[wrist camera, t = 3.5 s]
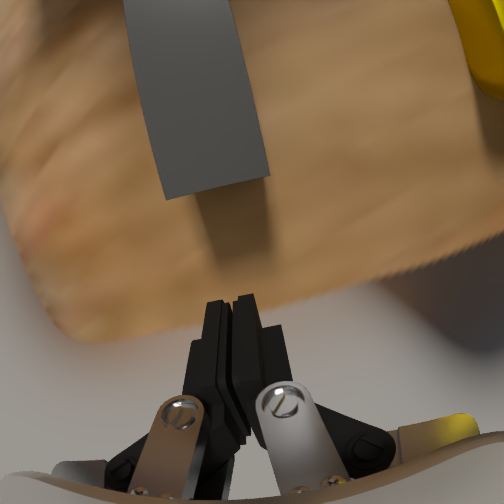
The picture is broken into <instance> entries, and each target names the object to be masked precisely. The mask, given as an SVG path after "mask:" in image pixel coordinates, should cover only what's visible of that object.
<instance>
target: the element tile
mask: <svg viewBox="0 0 504 504" xmlns="http://www.w3.org/2000/svg"><path fill="white" fill-rule="evenodd" d="M448 2H449V5H450V7H451V10H452V13H453V16H454V19H455V22H456V25H457V28H458V31H459V34H460V38H461V41H462V45H463V49H464V53H465V57H466V61H467V64H468V67H469V69H470V71H471V74H472V76H473V78H474V80H475V82H476V83H477V84H478V86H479V87H480V89H481V90H482V91H484V92H485V93H486V94H487V95H488V96H490V97H492V98H495V99H499V100H503V101H504V0H448Z"/></svg>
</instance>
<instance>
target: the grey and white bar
mask: <svg viewBox="0 0 504 504" xmlns="http://www.w3.org/2000/svg"><path fill="white" fill-rule="evenodd" d="M123 4H124V12H125V19H126V26H127V33H128V39H129V45H130V51H131V56H132V62H133V67H134V72H135V77H136V82H137V87H138V92H139V97H140V101H141V106H142V110H143V115H144V119H145V123H146V127H147V131H148V135H149V139H150V143H151V147H152V151H153V155H154V159H155V163H156V166H157V170H158V174H159V177H160V181H161V184H162V188H163V191H164V195H165V198H166V200H170V199H173V198H177V197H181V196H185V195H189V194H192V193H196V192H200V191H204V190H208V189H213V188H217V187H221V186H225V185H230V184H234V183H238V182H243V181H248V180H252V179H257V178H262V177H267V176H270V172H269V167H268V162H267V158H266V153H265V148H264V144H263V139H262V135H261V130H260V125H259V121H258V117H257V112H256V108H255V103H254V99H253V95H252V91H251V86H250V82H249V78H248V74H247V70H246V66H245V62H244V58H243V54H242V50H241V46H240V42H239V38H238V34H237V30H236V27H235V23H234V19H233V15H232V12H231V8H230V4H229V1H228V0H123Z"/></svg>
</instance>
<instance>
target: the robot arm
mask: <svg viewBox="0 0 504 504" xmlns="http://www.w3.org/2000/svg"><path fill="white" fill-rule="evenodd" d="M251 427H252V430H253V432H254V434H255V436H256V438H257V440H258V442H259V444H260V446H261V447H263V448H264V449H266V450H267V451H268V454H269V457H270V461H271V464H272V467H273V471H274V474H275V477H276V481H277V484H278V487H279V490H280V494H281V496H274V497H265V498H256V499H244V500H243V499H242V500H228V496H229V491H230V485H231V479H232V473H233V467H234V461H235V459H234V458H235V456H234V454H235V453H236V452H237V451H238V450H239V449H240V445H245V444H246V436H251ZM0 504H504V431H496V432H490V433H484V434H480V431H479V428H478V424H477V423H476V421H475V419H474V418H473V417H471V416H470V415H468V414H464V413H459V414H453V415H450V416H446V417H443V418H438V419H434V420H431V421H426V422H421V423H417V424H412V425H407V426H401V427H399V428H398V430H393V431H387V432H386V431H384V430H382V429H380V428H377V427H374V426H372V425H368V424H366V423H363V422H361V421H358V420H355V419H353V418H350V417H347V416H345V415H343V414H340V413H338V412H335V411H333V410H330V409H328V408H326V407H323V406H321V405H319V404H316V403H314V402H313V399H312V398H311V395H310V393H309V392H308V390H307V389H306V388H305V387H304V386H303V385H301V384H299V383H296V382H293V379H292V374H291V370H290V365H289V360H288V355H287V350H286V346H285V341H284V336H283V332H282V327H281V325H276V326H271V327H266V328H262V325H261V321H260V317H259V314H258V310H257V306H256V302H255V298H254V294H253V293H252V294H247V295H242V296H238V301H233V313H232V309H231V306H230V304H229V302H228V303H224V301H223V300H217V301H212V302H208V303H207V306H206V312H205V318H204V324H203V331H202V338H201V339H198V340H193V341H192V343H191V347H190V352H189V358H188V363H187V369H186V374H185V380H184V385H183V391H182V395H179V396H175V397H173V398H171V399H169V400H167V401H165V402H164V404H163V405H161V406H160V408H159V410H158V412H157V414H156V417H155V419H154V422H153V424H152V427H151V429H150V432H149V433H148V434H146V435H145V436H144V437H142V438H141V439H139V440H138V441H137V442H135V443H134V444H132V445H131V446H130V447H128V448H127V449H125V450H124V451H122V452H121V453H119V454H118V455H116V456H115V457H114V458H112V459H111V460H110V461H109V462H107V461H106V460H89V461H63V462H60V463H58V464H57V465H56V466H55V467H54V468H53V471H52V474H51V475H50V474H46V473H41V472H34V471H23V472H15V473H11V474H8V475H6V476H4V477H3V478H2V479H1V480H0Z"/></svg>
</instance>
